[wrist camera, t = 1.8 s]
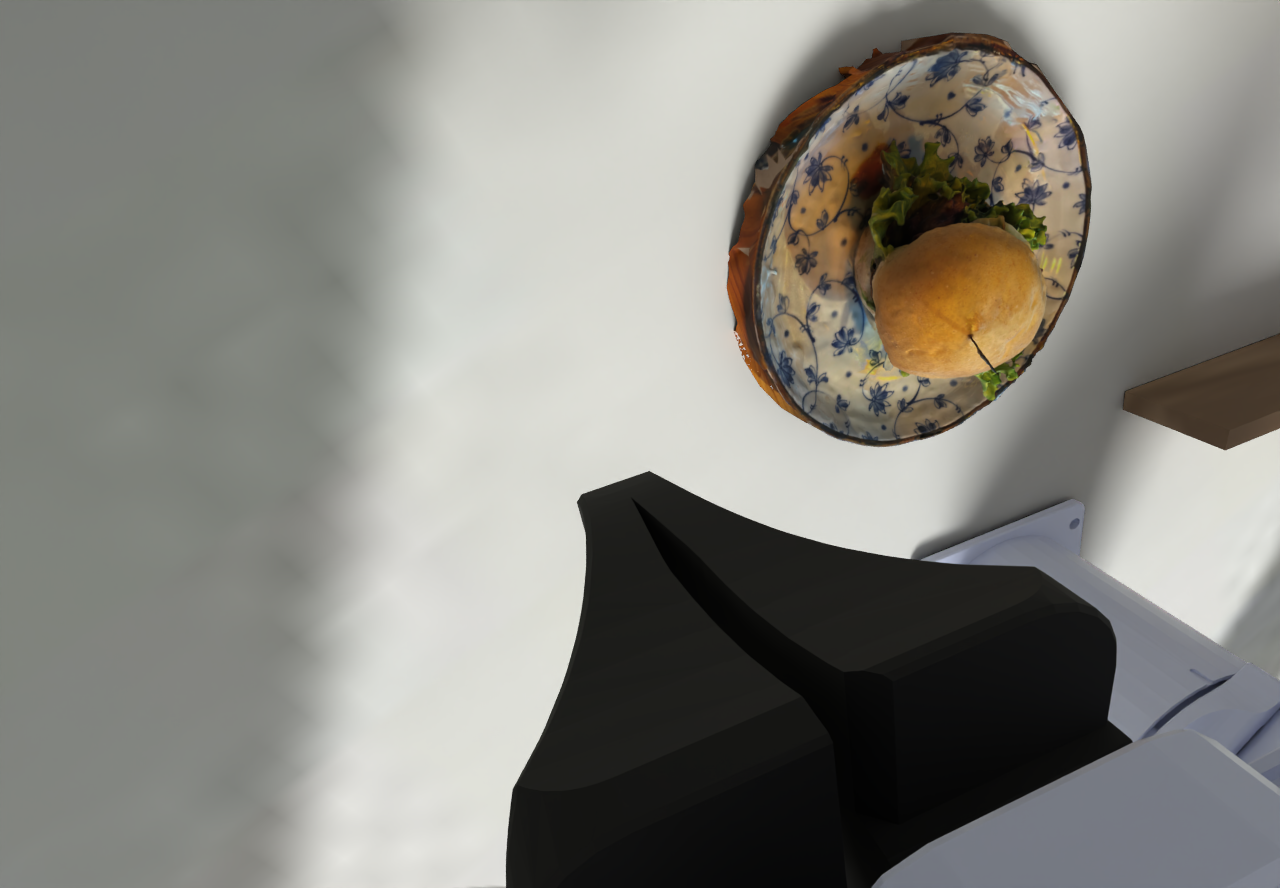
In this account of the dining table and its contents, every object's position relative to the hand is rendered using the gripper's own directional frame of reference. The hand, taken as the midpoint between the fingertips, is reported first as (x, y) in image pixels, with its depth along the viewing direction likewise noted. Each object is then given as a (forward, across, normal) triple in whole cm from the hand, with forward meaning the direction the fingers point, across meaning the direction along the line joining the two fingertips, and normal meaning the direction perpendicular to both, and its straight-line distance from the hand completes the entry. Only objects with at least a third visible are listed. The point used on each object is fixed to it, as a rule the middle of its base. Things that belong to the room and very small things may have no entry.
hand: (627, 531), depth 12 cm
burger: (+10, -12, 0) cm, 15 cm away
